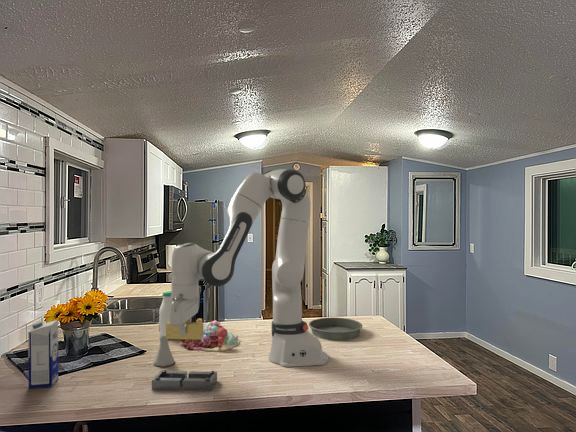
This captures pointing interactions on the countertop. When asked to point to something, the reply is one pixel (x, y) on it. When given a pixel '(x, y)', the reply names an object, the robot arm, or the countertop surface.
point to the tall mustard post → (192, 331)
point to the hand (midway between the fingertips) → (185, 332)
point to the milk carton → (43, 354)
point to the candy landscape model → (212, 339)
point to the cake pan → (335, 328)
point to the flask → (164, 354)
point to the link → (169, 380)
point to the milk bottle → (165, 312)
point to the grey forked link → (200, 381)
